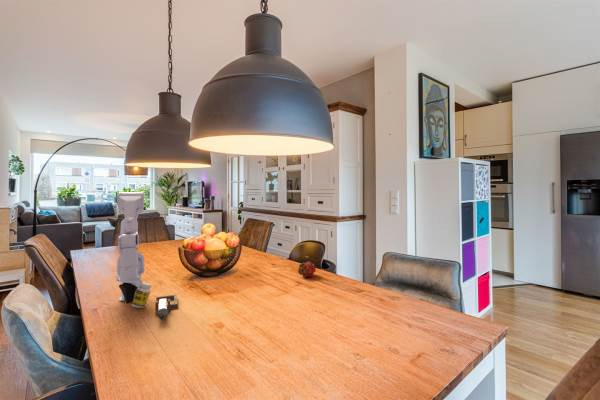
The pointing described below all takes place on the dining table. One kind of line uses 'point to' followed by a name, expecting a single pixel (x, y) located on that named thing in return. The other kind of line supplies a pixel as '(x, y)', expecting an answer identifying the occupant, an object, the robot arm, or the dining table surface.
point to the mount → (169, 306)
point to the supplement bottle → (141, 295)
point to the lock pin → (162, 309)
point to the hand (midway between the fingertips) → (129, 302)
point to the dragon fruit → (307, 269)
